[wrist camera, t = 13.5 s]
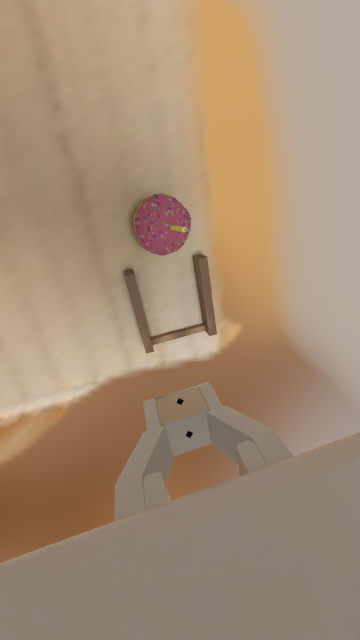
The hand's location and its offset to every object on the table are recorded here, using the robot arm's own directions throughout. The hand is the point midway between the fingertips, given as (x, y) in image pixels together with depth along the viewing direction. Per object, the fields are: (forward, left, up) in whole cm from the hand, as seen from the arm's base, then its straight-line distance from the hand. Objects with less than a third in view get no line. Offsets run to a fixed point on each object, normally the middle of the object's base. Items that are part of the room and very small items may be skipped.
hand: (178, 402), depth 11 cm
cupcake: (+5, +5, -35) cm, 36 cm away
